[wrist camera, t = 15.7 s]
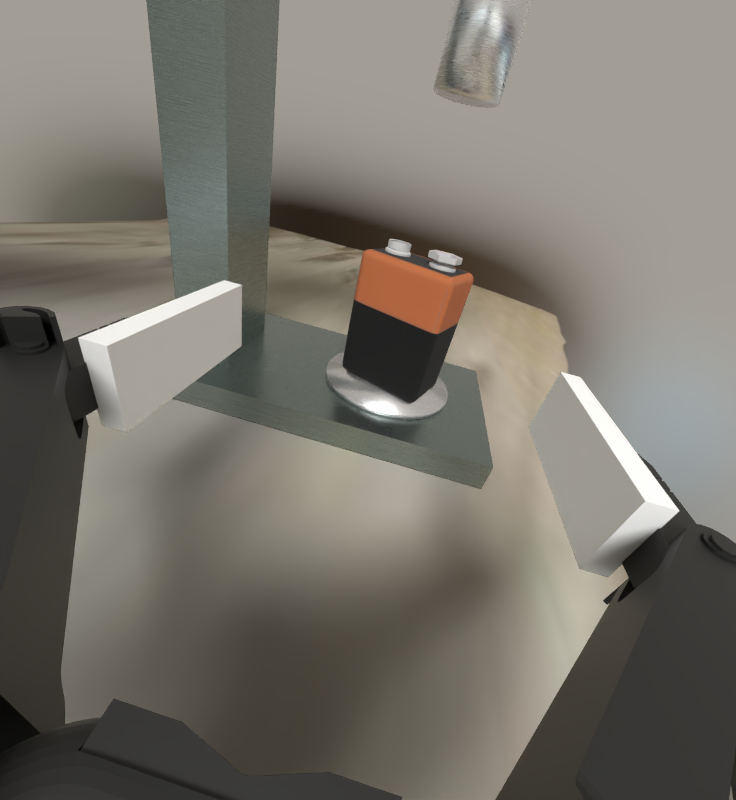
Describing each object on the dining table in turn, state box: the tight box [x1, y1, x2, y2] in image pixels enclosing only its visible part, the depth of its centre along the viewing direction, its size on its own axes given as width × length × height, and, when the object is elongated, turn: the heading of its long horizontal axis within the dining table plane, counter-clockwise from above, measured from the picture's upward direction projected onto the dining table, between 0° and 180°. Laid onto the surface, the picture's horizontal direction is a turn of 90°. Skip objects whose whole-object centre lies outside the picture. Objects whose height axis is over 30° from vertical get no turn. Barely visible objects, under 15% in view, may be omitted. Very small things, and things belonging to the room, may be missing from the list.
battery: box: [342, 239, 473, 403], centre depth 25 cm, size 4×7×10 cm, turn 55°
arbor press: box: [146, 0, 532, 489], centre depth 18 cm, size 32×14×40 cm, turn 78°
